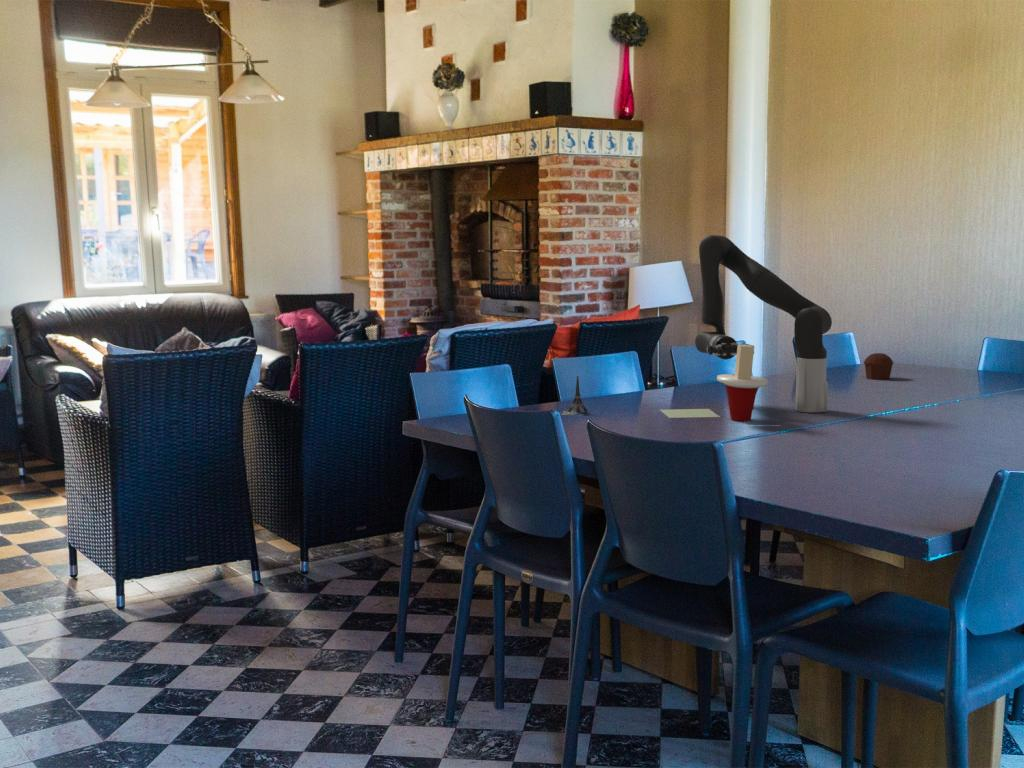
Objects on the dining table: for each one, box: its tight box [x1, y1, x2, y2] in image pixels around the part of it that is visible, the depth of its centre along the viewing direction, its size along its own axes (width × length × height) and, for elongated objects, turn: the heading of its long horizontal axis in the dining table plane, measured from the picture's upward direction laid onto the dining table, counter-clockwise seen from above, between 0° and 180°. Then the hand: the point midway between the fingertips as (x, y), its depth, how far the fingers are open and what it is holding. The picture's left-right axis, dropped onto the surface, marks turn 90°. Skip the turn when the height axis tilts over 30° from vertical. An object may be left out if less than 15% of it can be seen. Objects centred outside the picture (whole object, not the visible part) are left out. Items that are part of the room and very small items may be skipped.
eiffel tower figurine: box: [559, 375, 589, 417], centre depth 333 cm, size 15×10×13 cm
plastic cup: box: [723, 383, 760, 423], centre depth 312 cm, size 11×11×12 cm
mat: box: [659, 408, 721, 419], centre depth 326 cm, size 16×16×1 cm
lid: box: [716, 343, 769, 388], centre depth 310 cm, size 15×15×11 cm
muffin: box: [863, 352, 894, 381], centre depth 410 cm, size 12×11×10 cm
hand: (735, 351), depth 318 cm, fingers open, 8 cm apart
